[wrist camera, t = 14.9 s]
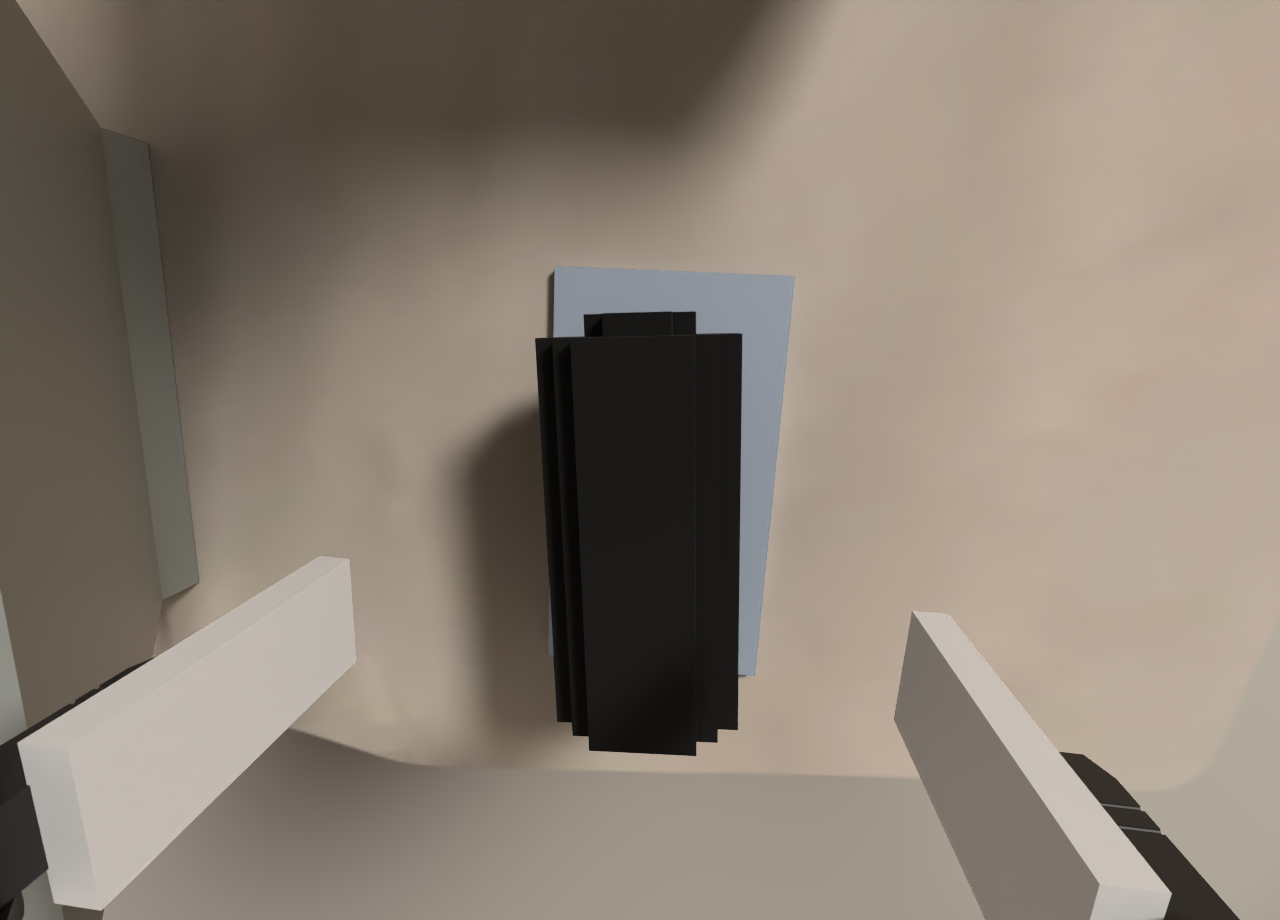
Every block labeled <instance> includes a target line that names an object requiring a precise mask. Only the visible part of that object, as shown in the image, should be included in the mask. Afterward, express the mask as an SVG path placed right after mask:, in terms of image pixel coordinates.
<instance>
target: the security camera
mask: <svg viewBox="0 0 1280 920" xmlns="http://www.w3.org/2000/svg"><path fill="white" fill-rule="evenodd" d="M583 315H584V336H581V337H552V338H535V343H536V360H537V377H538V395H539V412H540V429H541V446H542V464H543V481H544V498H545V515H546V533H547V550H548V567H549V584H550V602H551V619H552V636H553V653H554V671H555V688H556V705H557V722H572V731H573V736H589V751H608V752H628V753H647V754H667V755H687V756H696V742H716V743H717V732H718V729H727V730H738V656H739V575H740V493H741V412H742V334H740V333H708V334H696V312H695V311H692V312H672V311H667V312H630V313H602V314H583Z"/></svg>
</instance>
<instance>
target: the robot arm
mask: <svg viewBox="0 0 1280 920" xmlns="http://www.w3.org/2000/svg"><path fill="white" fill-rule="evenodd" d="M356 661H357V659H356V645H355V631H354V618H353V604H352V590H351V576H350V562H349V559H345V558H334V557H323V556H319V557H317V558H316V559H314V560H312V561H311V562H309V563H308V564H306V565H304V566H303V567H301V568H299V569H298V570H296V571H295V572H293V573H291V574H290V575H288V576H287V577H285V578H283V579H282V580H280V581H278V582H277V583H275V584H274V585H272V586H270V587H269V588H267V589H265V590H264V591H262V592H261V593H259V594H257V595H256V596H254V597H253V598H251V599H249V600H248V601H246V602H244V603H243V604H241V605H240V606H238V607H236V608H235V609H233V610H231V611H230V612H228V613H227V614H225V615H223V616H222V617H220V618H219V619H217V620H215V621H214V622H212V623H210V624H209V625H207V626H206V627H204V628H202V629H201V630H199V631H197V632H196V633H194V634H193V635H191V636H189V637H188V638H186V639H185V640H183V641H181V642H180V643H178V644H176V645H175V646H173V647H172V648H170V649H168V650H167V651H165V652H163V653H162V654H160V655H159V656H156V657H154V658H151V659H149V660H146V661H144V662H142V663H139V664H137V665H134V666H132V667H129V668H127V669H126V670H124V671H122V672H121V673H119V674H117V675H116V676H114V677H112V678H111V679H109V680H107V681H106V682H104V683H102V684H101V685H99V688H98V689H93V690H91V691H89V692H88V693H86V694H84V695H83V696H81V697H79V698H78V699H76V700H75V703H74V704H68V705H66V706H65V707H63V708H61V709H60V710H58V711H56V712H55V713H53V714H51V715H50V716H48V717H46V718H45V719H43V720H41V721H40V722H38V723H37V724H35V725H33V726H32V727H30V728H28V729H27V730H25V731H23V732H22V733H20V734H18V735H17V736H15V737H13V738H12V739H10V740H9V741H7V742H5V743H4V744H2V745H0V920H22V919H23V916H24V899H23V895H22V890H24V889H25V888H26V887H27V886H28V885H30V884H31V883H32V882H33V881H34V880H36V879H37V878H38V877H39V876H40V875H42V874H43V873H44V872H45V871H46V870H47V874H48V879H49V883H50V887H51V892H52V896H53V901H54V903H55V904H62V905H68V906H74V907H80V908H87V909H93V910H99V911H101V910H102V909H104V908H105V907H106V906H107V905H108V904H109V903H110V902H111V901H112V900H113V899H114V898H115V897H116V896H117V895H118V894H119V893H120V892H121V891H122V890H123V889H124V888H125V887H126V886H127V885H128V884H129V883H130V882H131V881H132V880H133V879H134V878H135V877H136V876H137V875H138V874H139V873H140V872H141V871H142V870H143V869H144V868H145V867H146V866H147V865H148V864H149V863H150V862H151V861H153V860H154V859H155V858H156V857H157V856H158V855H159V854H160V853H161V852H162V851H163V850H164V849H165V848H166V847H167V846H168V845H169V844H170V843H171V842H172V841H173V840H174V839H175V838H176V837H177V836H178V835H179V834H180V833H181V832H182V831H183V830H184V829H185V828H186V827H187V826H188V825H189V824H190V823H191V822H192V821H193V820H194V819H195V818H196V817H197V816H198V815H200V813H201V812H202V811H204V809H206V808H207V807H208V806H209V805H210V804H211V803H212V802H213V801H214V800H215V799H216V798H217V797H218V796H219V795H220V794H221V793H222V792H223V791H224V790H225V789H226V788H227V787H228V786H229V785H230V784H231V783H232V782H233V781H234V780H235V779H236V778H237V777H238V776H239V775H240V774H241V773H242V772H243V771H244V770H245V769H246V768H248V767H249V765H251V764H252V763H253V762H254V761H255V760H256V759H257V758H258V757H259V756H260V755H261V754H262V753H263V752H264V751H265V750H266V749H267V748H268V747H269V746H270V745H271V744H272V743H273V742H274V741H275V740H276V739H277V738H278V737H279V736H280V735H281V734H282V733H283V732H284V731H285V730H286V729H287V728H288V727H289V726H290V725H291V724H292V723H293V722H294V721H296V720H297V719H298V718H299V717H300V716H301V715H302V714H303V713H304V712H305V711H306V710H307V709H308V708H309V707H310V706H311V705H312V704H313V703H314V702H315V701H316V700H317V699H318V698H319V697H320V696H321V695H322V694H323V693H324V692H325V691H326V690H327V689H328V688H329V687H330V686H331V685H332V684H333V683H334V682H335V681H336V680H337V679H338V678H339V677H340V676H341V675H342V674H344V673H345V672H346V671H347V670H348V669H349V668H350V667H351V666H352V665H353V664H354V663H355V662H356ZM894 721H895V723H896V725H897V727H898V729H899V732H900V734H901V736H902V738H903V740H904V742H905V745H906V747H907V749H908V751H909V753H910V756H911V758H912V760H913V762H914V764H915V767H916V769H917V771H918V773H919V775H920V777H921V780H922V782H923V784H924V786H925V788H926V790H927V793H928V795H929V797H930V799H931V802H932V804H933V806H934V808H935V810H936V812H937V815H938V817H939V819H940V821H941V823H942V826H943V828H944V830H945V832H946V834H947V837H948V839H949V841H950V843H951V845H952V848H953V850H954V852H955V854H956V856H957V858H958V861H959V863H960V865H961V867H962V869H963V872H964V874H965V876H966V878H967V880H968V883H969V885H970V887H971V889H972V891H973V893H974V896H975V898H976V900H977V902H978V904H979V906H980V909H981V911H982V913H983V915H984V918H985V919H986V920H1240V919H1238V917H1237V916H1236V915H1235V914H1234V913H1233V912H1232V910H1231V909H1230V908H1229V907H1228V906H1227V905H1226V903H1225V902H1224V901H1223V900H1222V899H1221V898H1220V897H1219V896H1218V894H1217V893H1216V892H1215V891H1214V890H1213V889H1212V888H1211V887H1210V885H1209V884H1208V883H1207V882H1206V881H1205V880H1204V878H1203V877H1202V876H1201V875H1200V874H1199V873H1198V872H1197V871H1196V869H1195V868H1194V867H1193V866H1192V865H1191V864H1190V862H1189V861H1188V860H1187V859H1186V858H1185V857H1184V856H1183V854H1182V853H1181V852H1180V851H1179V850H1178V849H1177V848H1176V847H1175V845H1174V844H1173V843H1172V842H1171V841H1170V840H1169V839H1168V837H1167V836H1166V835H1161V832H1160V828H1159V827H1158V826H1157V825H1156V824H1155V823H1154V821H1153V820H1152V819H1151V818H1150V817H1149V816H1148V815H1147V813H1146V812H1144V811H1141V810H1140V806H1139V804H1138V803H1137V802H1136V801H1135V800H1134V799H1133V798H1132V796H1131V795H1130V794H1129V793H1128V792H1127V791H1126V790H1125V788H1124V787H1123V786H1122V785H1121V784H1120V783H1119V782H1118V780H1117V779H1116V778H1114V777H1113V776H1111V775H1110V774H1109V773H1107V772H1106V771H1105V770H1103V769H1102V768H1101V767H1099V766H1098V765H1096V764H1095V763H1094V762H1092V761H1091V760H1090V759H1088V758H1087V757H1086V756H1084V755H1082V754H1073V753H1064V752H1058V751H1057V749H1056V748H1055V747H1054V746H1053V744H1052V743H1051V742H1050V741H1049V739H1048V738H1047V737H1046V736H1045V734H1044V733H1043V732H1042V731H1041V729H1040V728H1039V727H1038V726H1037V724H1036V723H1035V722H1034V721H1033V719H1032V718H1031V717H1030V716H1029V714H1028V713H1027V712H1026V711H1025V709H1024V708H1023V707H1022V706H1021V704H1020V703H1019V702H1018V701H1017V699H1016V698H1015V697H1014V696H1013V694H1012V693H1011V692H1010V691H1009V689H1008V688H1007V687H1006V686H1005V684H1004V683H1003V682H1002V681H1001V679H1000V678H999V677H998V676H997V674H996V673H995V672H994V671H993V669H992V668H991V667H990V666H989V664H988V663H987V662H986V661H985V659H984V658H983V657H982V656H981V654H980V653H979V652H978V651H977V649H976V648H975V647H974V646H973V644H972V643H971V642H970V641H969V639H968V638H967V637H966V636H965V634H964V633H963V632H962V631H961V629H960V628H959V627H958V626H957V624H956V623H955V622H954V621H953V619H952V618H951V617H950V616H949V614H942V613H931V612H920V611H912V615H911V621H910V627H909V633H908V639H907V645H906V651H905V656H904V662H903V668H902V674H901V680H900V686H899V692H898V698H897V704H896V710H895V716H894Z"/></svg>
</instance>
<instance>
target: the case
mask: <svg viewBox="0 0 1280 920" xmlns="http://www.w3.org/2000/svg"><path fill="white" fill-rule="evenodd" d="M198 582H199V577H198V569H197V560H196V552H195V543H194V535H193V526H192V517H191V509H190V500H189V492H188V483H187V475H186V466H185V458H184V449H183V440H182V432H181V423H180V415H179V406H178V398H177V389H176V380H175V372H174V363H173V355H172V346H171V338H170V329H169V321H168V312H167V303H166V295H165V286H164V278H163V269H162V261H161V252H160V244H159V235H158V226H157V218H156V209H155V201H154V192H153V184H152V175H151V166H150V158H149V149H148V143H146V142H143V141H140V140H137V139H134V138H131V137H128V136H125V135H122V134H119V133H116V132H113V131H110V130H107V129H104V128H100V127H99V124H98V123H97V121H96V120H95V118H94V117H93V115H92V114H91V112H90V111H89V109H88V108H87V106H86V105H85V103H84V102H83V100H82V99H81V97H80V96H79V94H78V93H77V91H76V90H75V88H74V87H73V85H72V84H71V82H70V81H69V79H68V78H67V76H66V75H65V73H64V72H63V70H62V69H61V67H60V66H59V64H58V63H57V61H56V60H55V58H54V57H53V55H52V54H51V52H50V51H49V49H48V48H47V46H46V45H45V44H44V42H43V41H42V39H41V38H40V36H39V35H38V33H37V32H36V30H35V29H34V27H33V26H32V24H31V23H30V21H29V20H28V18H27V17H26V15H25V14H24V12H23V11H22V9H21V8H20V6H19V5H18V3H17V2H16V0H0V745H2V744H4V743H5V742H7V741H9V740H10V739H12V738H13V737H15V736H17V735H18V734H20V733H22V732H23V731H25V730H27V729H28V728H30V727H32V726H33V725H35V724H37V723H38V722H40V721H41V720H43V719H45V718H46V717H48V716H50V715H51V714H53V713H55V712H56V711H58V710H60V709H61V708H63V707H65V706H66V705H68V704H74V703H75V700H76V699H78V698H79V697H81V696H83V695H84V694H86V693H88V692H89V691H91V690H93V689H98V688H99V685H101V684H102V683H104V682H106V681H107V680H109V679H111V678H112V677H114V676H116V675H117V674H119V673H121V672H122V671H124V670H126V669H127V668H129V667H132V666H134V665H137V664H139V663H142V662H144V661H146V660H149V659H151V658H152V655H153V650H154V645H155V640H156V634H157V629H158V624H159V619H160V613H161V608H162V600H164V599H166V598H168V597H170V596H172V595H174V594H176V593H178V592H180V591H182V590H184V589H186V588H188V587H190V586H192V585H194V584H196V583H198ZM22 895H23V899H24V916H23V919H22V920H102V917H103V912H104V909H102V910H101V911H99V910H93V909H87V908H80V907H74V906H68V905H62V904H55V903H54V901H53V896H52V892H51V887H50V883H49V879H48V874H47V870H46V871H45V872H44V873H43V874H42V875H40V876H39V877H38V878H37V879H36V880H34V881H33V882H32V883H31V884H30V885H28V886H27V887H26V888H25V889H24V890H22Z"/></svg>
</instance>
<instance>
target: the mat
mask: <svg viewBox="0 0 1280 920" xmlns="http://www.w3.org/2000/svg"><path fill="white" fill-rule="evenodd" d="M794 281H795V276H779V275H755V274H731V273H707V272H683V271H659V270H635V269H611V268H587V267H563V266H555V275H554V332H553V337H581V336H584V315H583V314H602V313H630V312H667V311H672V312H692V311H695V312H696V334H708V333H740V334H742V412H741V493H740V575H739V656H738V675H747V676H755V670H756V660H757V650H758V640H759V630H760V620H761V610H762V600H763V590H764V580H765V570H766V560H767V550H768V540H769V530H770V520H771V511H772V501H773V491H774V481H775V471H776V461H777V451H778V441H779V431H780V421H781V411H782V401H783V391H784V381H785V371H786V361H787V351H788V341H789V331H790V321H791V311H792V301H793V291H794ZM548 655H551V656H554V653H553V636H552V619H551V602H550V584H549V615H548Z"/></svg>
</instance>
